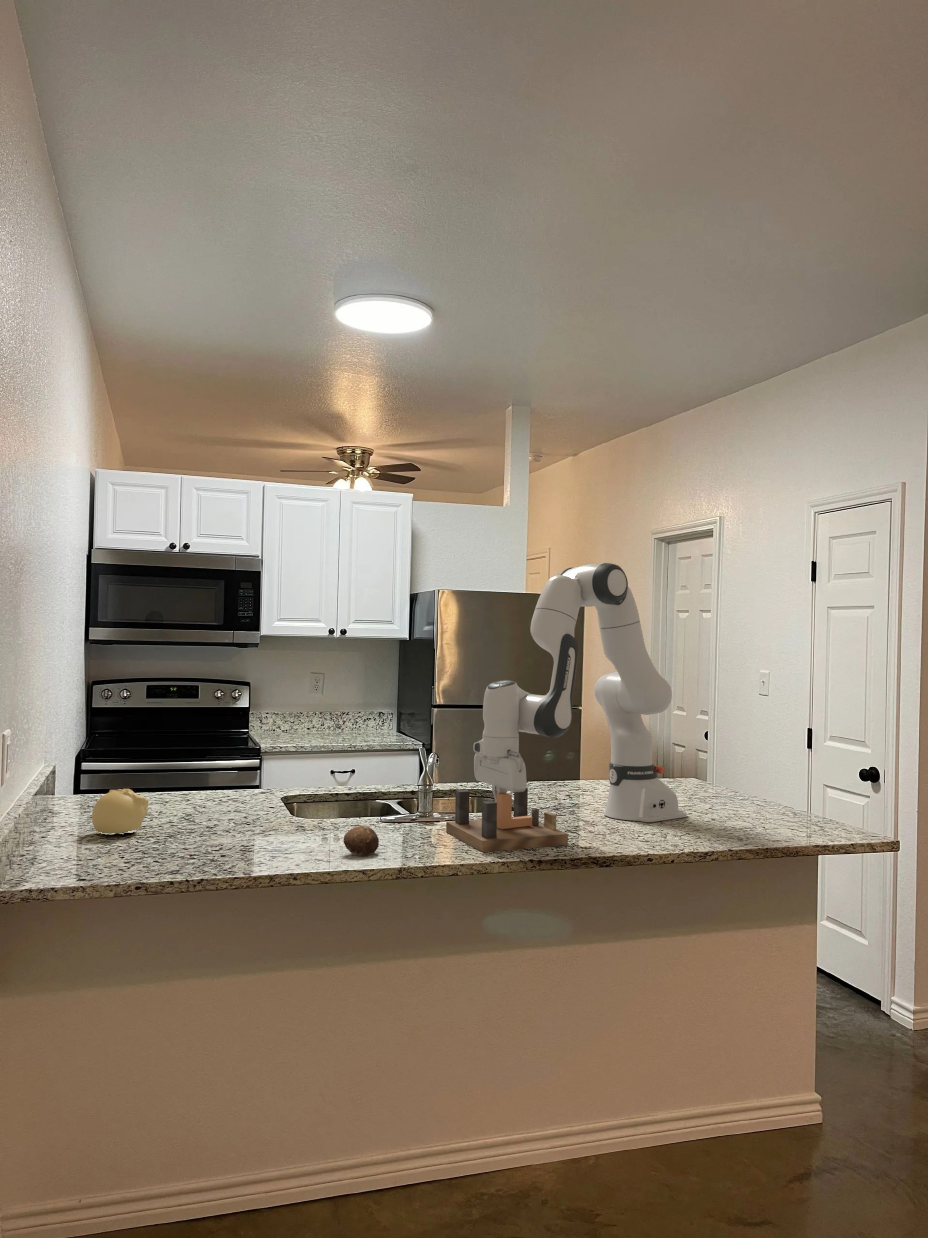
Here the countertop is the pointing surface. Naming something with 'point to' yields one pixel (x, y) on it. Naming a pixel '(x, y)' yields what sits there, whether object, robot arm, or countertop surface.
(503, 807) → the l-shaped wooden block
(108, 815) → the sculpture
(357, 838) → the brown rounded lump
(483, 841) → the wooden peg board
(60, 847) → the countertop surface
